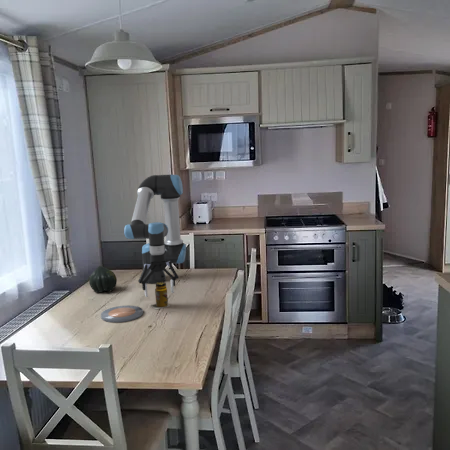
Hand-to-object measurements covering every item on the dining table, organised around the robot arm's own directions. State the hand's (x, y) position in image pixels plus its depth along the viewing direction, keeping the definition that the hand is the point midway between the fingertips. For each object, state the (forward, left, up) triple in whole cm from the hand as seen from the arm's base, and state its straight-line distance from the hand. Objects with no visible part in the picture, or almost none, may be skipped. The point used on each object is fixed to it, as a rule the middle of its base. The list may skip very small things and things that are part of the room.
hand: (159, 294), depth 230 cm
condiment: (0, 0, -7) cm, 7 cm away
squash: (-41, -23, -7) cm, 48 cm away
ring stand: (+4, -20, -6) cm, 21 cm away
